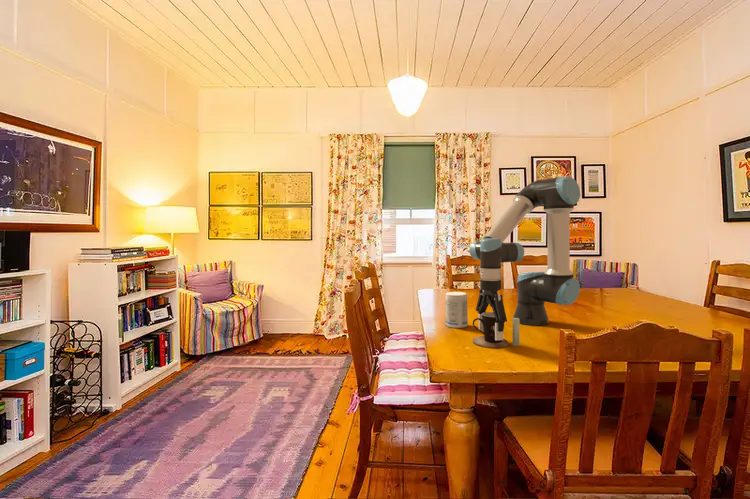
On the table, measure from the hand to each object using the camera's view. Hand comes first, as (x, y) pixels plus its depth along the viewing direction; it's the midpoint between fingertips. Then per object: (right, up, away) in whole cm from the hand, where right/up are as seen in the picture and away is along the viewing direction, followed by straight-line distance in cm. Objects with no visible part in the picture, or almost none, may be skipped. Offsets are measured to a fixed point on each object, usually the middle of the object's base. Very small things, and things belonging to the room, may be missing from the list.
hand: (490, 335), depth 146 cm
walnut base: (0, -3, 0) cm, 3 cm away
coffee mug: (0, -2, +1) cm, 3 cm away
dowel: (+9, -3, -3) cm, 10 cm away
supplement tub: (-7, -2, +26) cm, 27 cm away
